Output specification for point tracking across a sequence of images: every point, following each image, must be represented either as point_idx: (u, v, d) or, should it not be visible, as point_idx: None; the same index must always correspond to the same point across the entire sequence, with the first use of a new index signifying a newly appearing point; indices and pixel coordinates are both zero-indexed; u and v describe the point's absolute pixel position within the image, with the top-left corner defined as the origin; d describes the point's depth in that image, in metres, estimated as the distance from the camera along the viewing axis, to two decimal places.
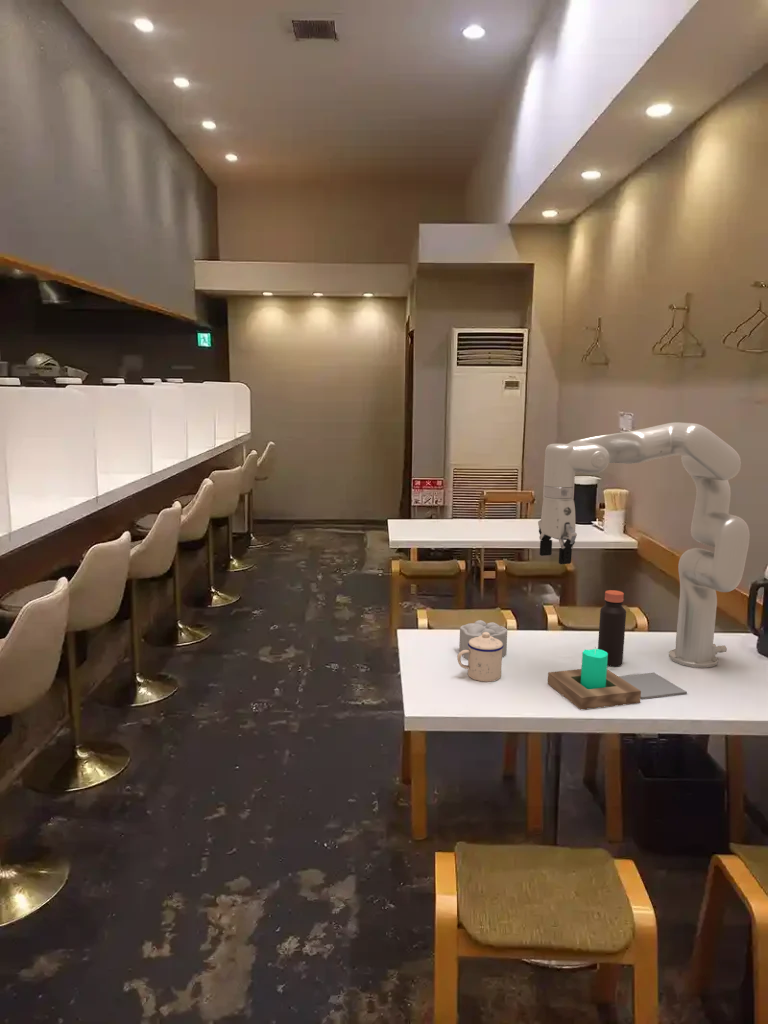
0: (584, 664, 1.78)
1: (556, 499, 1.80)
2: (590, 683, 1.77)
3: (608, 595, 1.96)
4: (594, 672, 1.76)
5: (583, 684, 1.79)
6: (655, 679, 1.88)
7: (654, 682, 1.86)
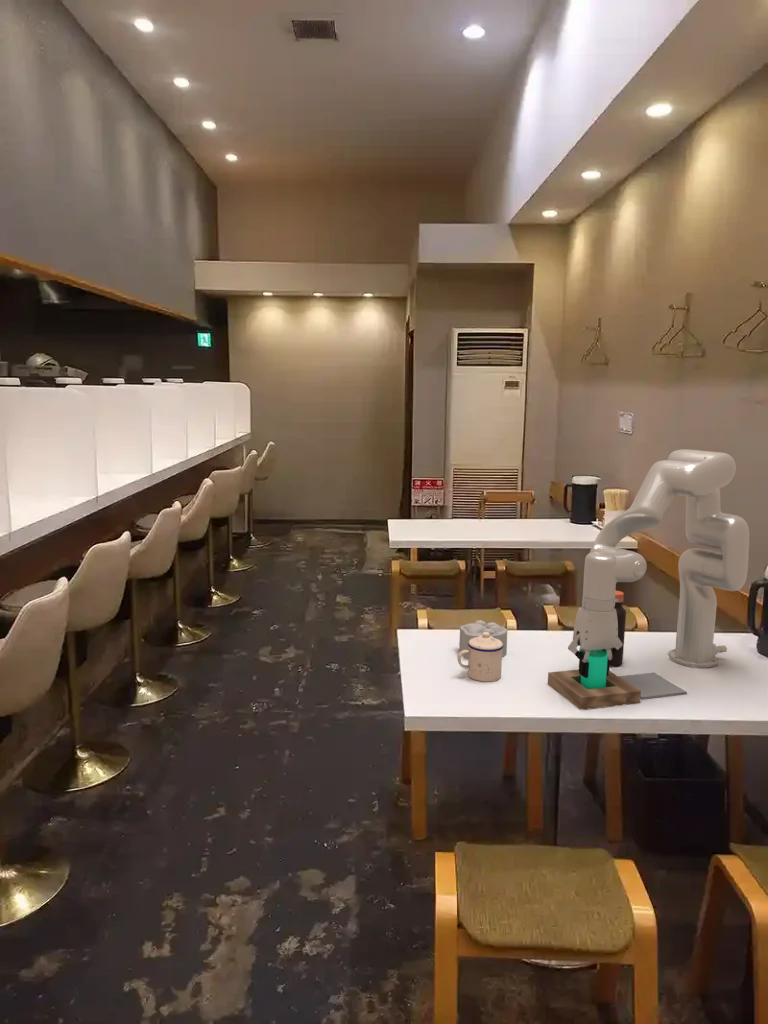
0: None
1: (613, 609, 1.75)
2: (590, 683, 1.77)
3: None
4: (594, 672, 1.76)
5: (583, 684, 1.79)
6: (655, 679, 1.88)
7: (654, 682, 1.86)
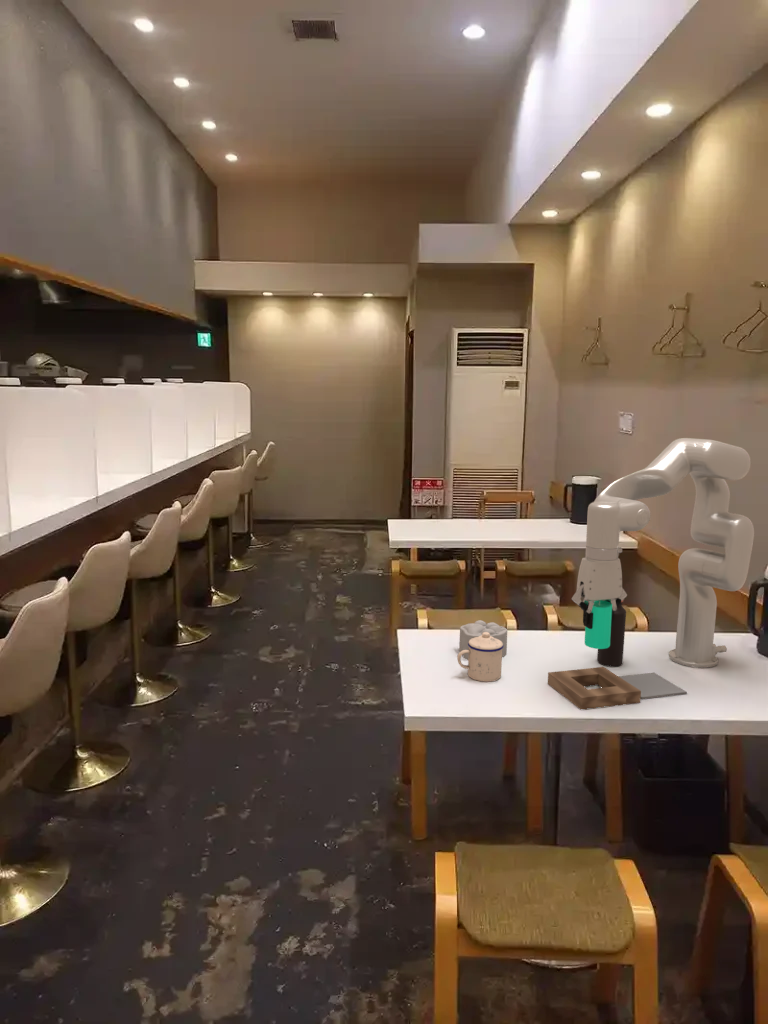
0: None
1: (617, 559, 1.74)
2: (594, 634, 1.75)
3: None
4: (598, 623, 1.75)
5: (587, 635, 1.77)
6: (655, 679, 1.88)
7: (654, 682, 1.86)
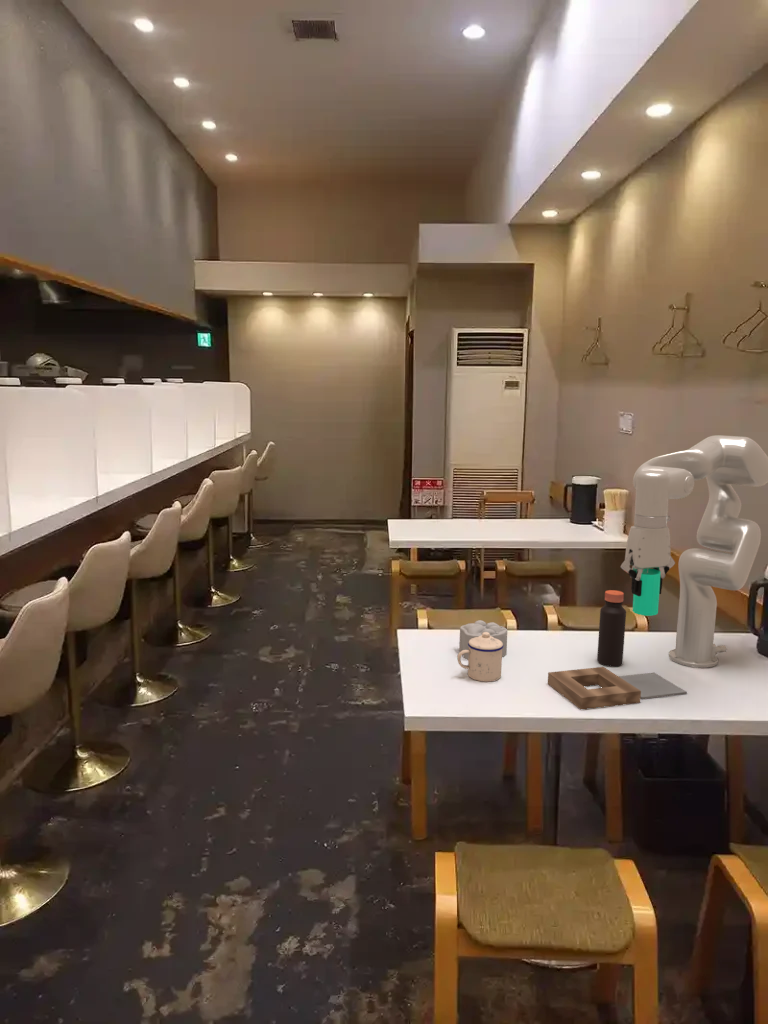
0: None
1: (666, 527, 1.76)
2: (643, 601, 1.78)
3: (608, 595, 1.96)
4: (647, 590, 1.77)
5: (636, 603, 1.80)
6: (655, 679, 1.88)
7: (654, 682, 1.86)
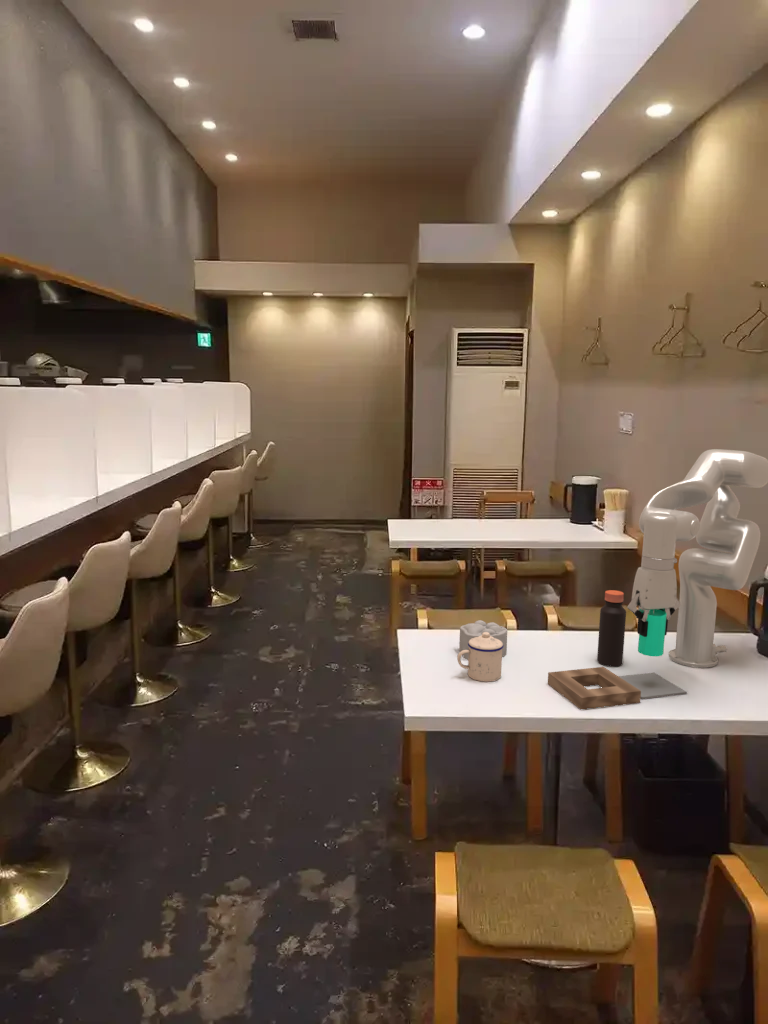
0: None
1: (673, 569, 1.78)
2: (649, 641, 1.80)
3: (608, 595, 1.96)
4: (653, 631, 1.79)
5: (642, 643, 1.82)
6: (655, 679, 1.88)
7: (654, 682, 1.86)
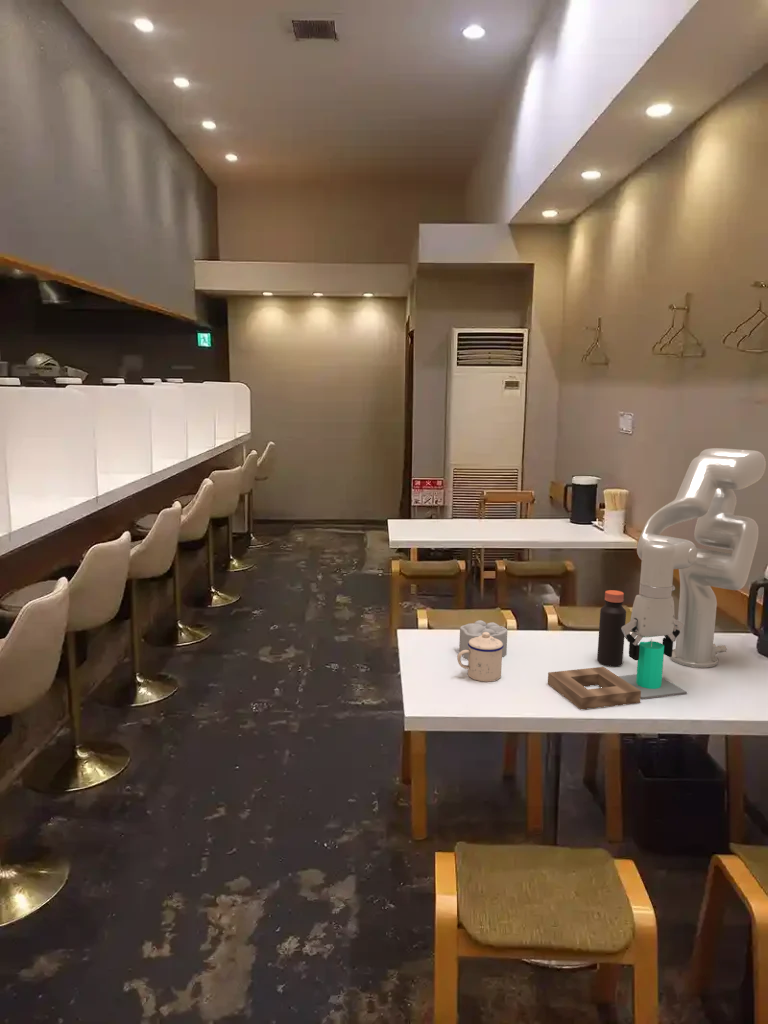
0: (641, 656, 1.82)
1: (671, 597, 1.80)
2: (647, 674, 1.82)
3: (608, 595, 1.96)
4: (651, 664, 1.81)
5: (640, 675, 1.83)
6: None
7: None
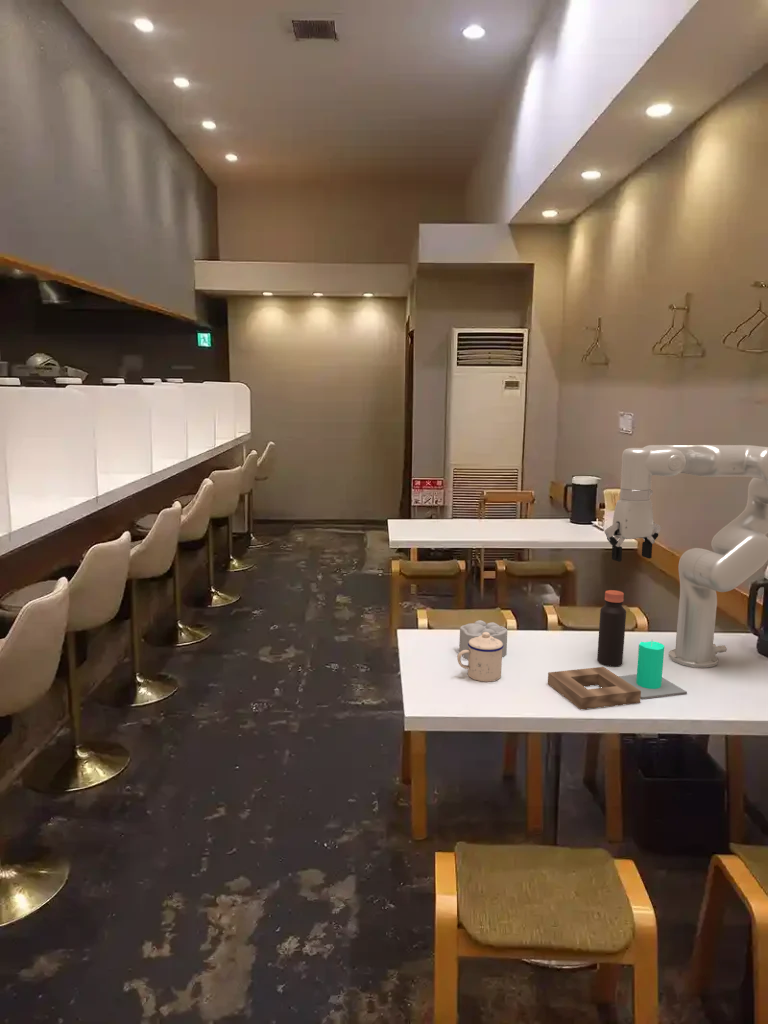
0: (641, 656, 1.82)
1: (649, 500, 1.90)
2: (647, 674, 1.82)
3: (608, 595, 1.96)
4: (651, 664, 1.81)
5: (640, 675, 1.83)
6: None
7: None
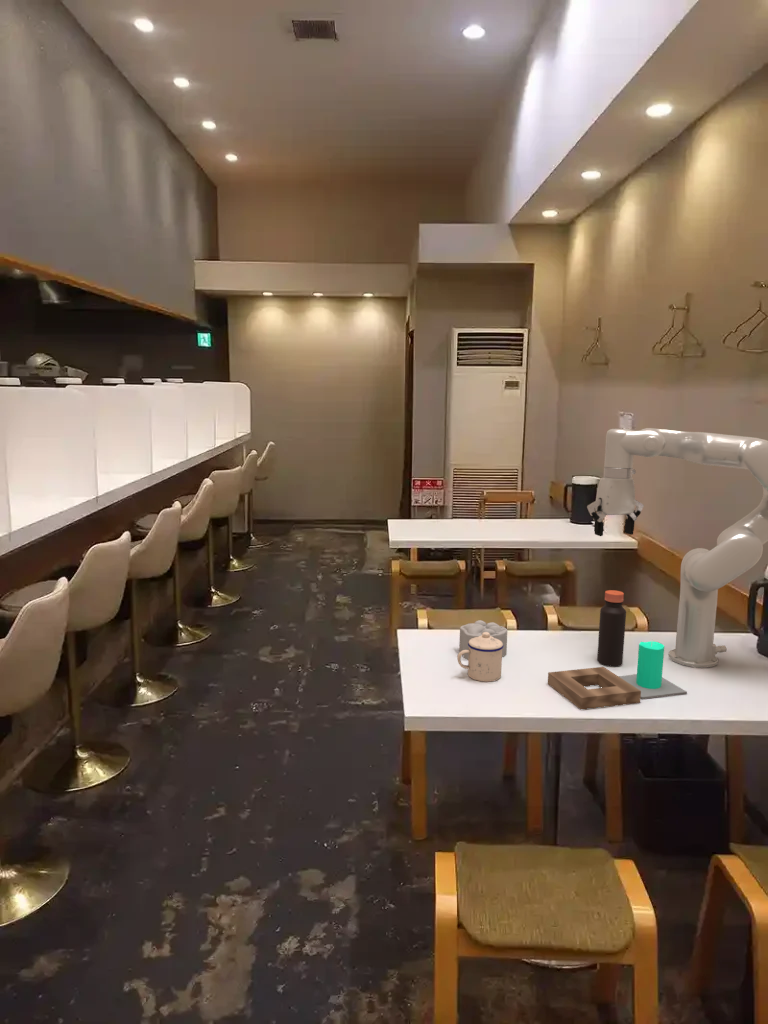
0: (641, 656, 1.82)
1: (631, 478, 2.00)
2: (647, 674, 1.82)
3: (608, 595, 1.96)
4: (651, 664, 1.81)
5: (640, 675, 1.83)
6: None
7: None
